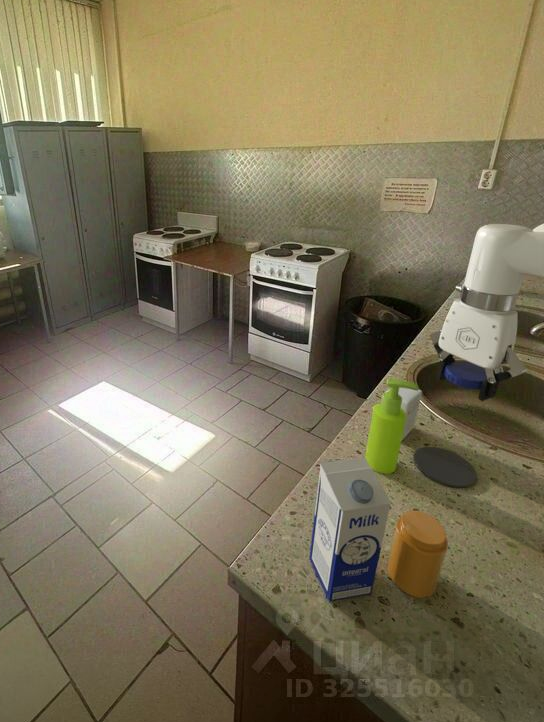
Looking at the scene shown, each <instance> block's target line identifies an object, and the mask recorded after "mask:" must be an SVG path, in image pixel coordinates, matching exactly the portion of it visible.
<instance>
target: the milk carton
mask: <svg viewBox="0 0 544 722" xmlns="http://www.w3.org/2000/svg"><path fill="white" fill-rule="evenodd" d="M319 465H320V466H319V475H318V484H317V491H316V498H315V499H316V500H315V502H316V503H315V507H314V516H313V517H314V518H313V525H312V534H311V540H310V541H311V543H310V549H309V561H310V564H311V566H312V567H313V570H314V572H315V574H316V576H317V578H318V581H319V583H320V585H321V587H322V589H323V592H324V594H325V596H326V598H327V600H328V602H334V601H340V600H344V599H345V600H346V599H350V598H356V597H361V596H367V595H372V593H373V588H374V583H375V579H376V574H377V569H378V564H379V559H380V555H381V549H382V546H383V540H384V535H385V532H386V527H387V526H386V525H387V522H388V517H389V512H390V508H391V504H392V501H391V499H390V498H389V496H388V494H387V492H386V491H385V489H384V486H383V485H382V484H381V482H380V480H379V478H378V476H377V474H376V472H375V471H374V470H373V469H372V468H371V467H370V465H369V463H368V462H367V460H366V459H365V456H359V457H353V458H345V459H338V460H332V461H324V462H323V461H322V462H320V463H319Z"/></svg>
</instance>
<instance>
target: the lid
mask: <svg viewBox="0 0 544 722" xmlns="http://www.w3.org/2000/svg"><path fill="white" fill-rule="evenodd" d="M444 375H445V377H446V378H447V379H446V380H448V381H449V382H450V383H452V384H453V385H456V386H459V387H461V388H463V389H464V388H465V389H468V390H481V386H482V383H483V381H484V380H486V379H487V376H486V372H485V368H482V367H480V366H477V365H475V364H473V363H470V362H467V361H466V362H465V361H455V362H451V363H448V364H447V365H446V367H445V372H444Z"/></svg>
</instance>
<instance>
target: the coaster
mask: <svg viewBox="0 0 544 722" xmlns="http://www.w3.org/2000/svg"><path fill="white" fill-rule="evenodd" d="M412 460H413V464H414V465H415V467H416V468H417V470H418V471H419V472H420V473H421V474H422V475H423V476H424V477H426V478H427V479H429V480H431V481H432V482H435V483H437V484H439V485H442V486H445V487H447V488H448V487H449V488H453V489H465V488H470V487H472V486H473V485H474V484H475V483H476V481H477V472H476V469H475V468H474V466H473V465H472V464H471V463H470V462H469V461H468V460H467V459H466V458H464V457H463V456H461V455H459V454H457V453H456V452H453V451H452V450H449V449H446V448H442V447H438V446H423V447H420V448H418V449H416V451H414V454H413V459H412Z"/></svg>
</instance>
